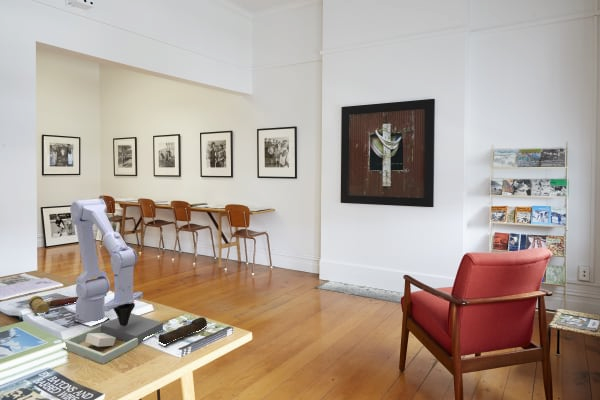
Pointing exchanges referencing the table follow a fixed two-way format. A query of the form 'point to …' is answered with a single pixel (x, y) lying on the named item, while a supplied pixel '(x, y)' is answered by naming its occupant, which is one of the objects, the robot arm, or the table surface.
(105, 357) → the box
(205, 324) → the dark brown rounded bar
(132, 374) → the table surface
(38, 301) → the gavel
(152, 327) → the charcoal board
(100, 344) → the tile
